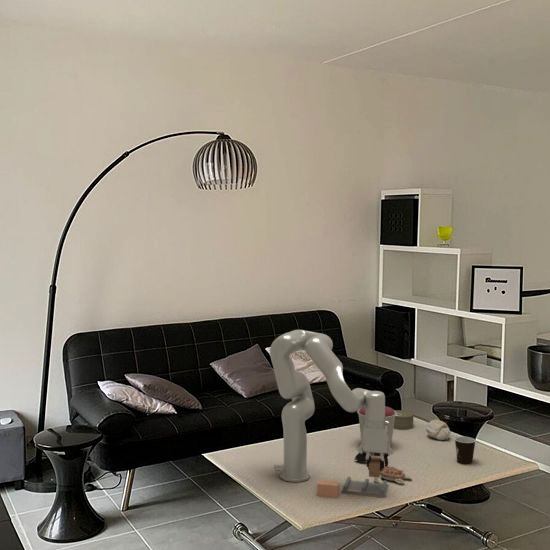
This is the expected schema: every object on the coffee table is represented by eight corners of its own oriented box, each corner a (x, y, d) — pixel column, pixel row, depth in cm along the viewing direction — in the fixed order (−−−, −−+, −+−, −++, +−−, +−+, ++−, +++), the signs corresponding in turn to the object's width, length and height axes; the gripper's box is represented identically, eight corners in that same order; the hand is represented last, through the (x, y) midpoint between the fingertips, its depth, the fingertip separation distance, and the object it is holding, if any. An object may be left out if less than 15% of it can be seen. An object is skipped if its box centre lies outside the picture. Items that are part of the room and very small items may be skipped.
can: (418, 427, 360) (418, 414, 359) (400, 431, 354) (400, 418, 353) (402, 421, 370) (403, 409, 369) (384, 425, 364) (384, 412, 363)
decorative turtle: (384, 468, 304) (384, 457, 304) (419, 477, 294) (419, 465, 293) (361, 480, 290) (361, 469, 290) (397, 490, 280) (397, 478, 280)
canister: (377, 455, 319) (378, 409, 317) (348, 445, 333) (349, 401, 331) (404, 447, 330) (404, 402, 328) (375, 437, 344) (375, 395, 342)
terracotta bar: (317, 496, 274) (317, 483, 274) (319, 492, 278) (319, 480, 278) (337, 498, 272) (337, 485, 272) (339, 494, 276) (339, 482, 275)
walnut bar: (372, 467, 283) (371, 455, 282) (382, 468, 282) (381, 456, 281) (369, 476, 276) (368, 464, 275) (379, 477, 274) (379, 465, 273)
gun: (363, 473, 312) (353, 452, 314) (394, 463, 304) (384, 441, 306) (360, 476, 310) (351, 454, 311) (391, 465, 302) (382, 443, 303)
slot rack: (341, 492, 277) (341, 486, 277) (346, 482, 288) (346, 476, 287) (385, 497, 272) (385, 490, 272) (388, 486, 283) (388, 480, 283)
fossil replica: (446, 443, 336) (452, 439, 344) (448, 426, 335) (455, 422, 344) (421, 437, 342) (429, 433, 351) (424, 420, 342) (431, 417, 350)
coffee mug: (474, 466, 305) (474, 443, 304) (453, 464, 308) (454, 441, 307) (475, 457, 316) (476, 435, 315) (455, 455, 319) (456, 433, 318)
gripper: (398, 422, 278) (398, 467, 279) (355, 419, 282) (355, 464, 284) (395, 427, 271) (395, 474, 272) (352, 424, 275) (352, 470, 277)
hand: (375, 468), depth 278 cm, fingers closed on walnut bar, 4 cm apart
